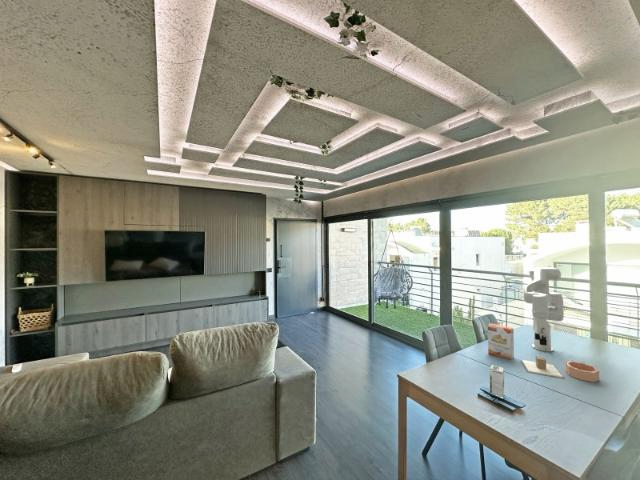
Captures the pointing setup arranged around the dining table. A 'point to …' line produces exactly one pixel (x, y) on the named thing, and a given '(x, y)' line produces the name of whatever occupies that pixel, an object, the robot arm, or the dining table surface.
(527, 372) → the mat
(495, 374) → the syrup box
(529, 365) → the lid
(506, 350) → the cracker box
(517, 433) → the dining table surface
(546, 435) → the dining table surface
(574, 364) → the bowl
